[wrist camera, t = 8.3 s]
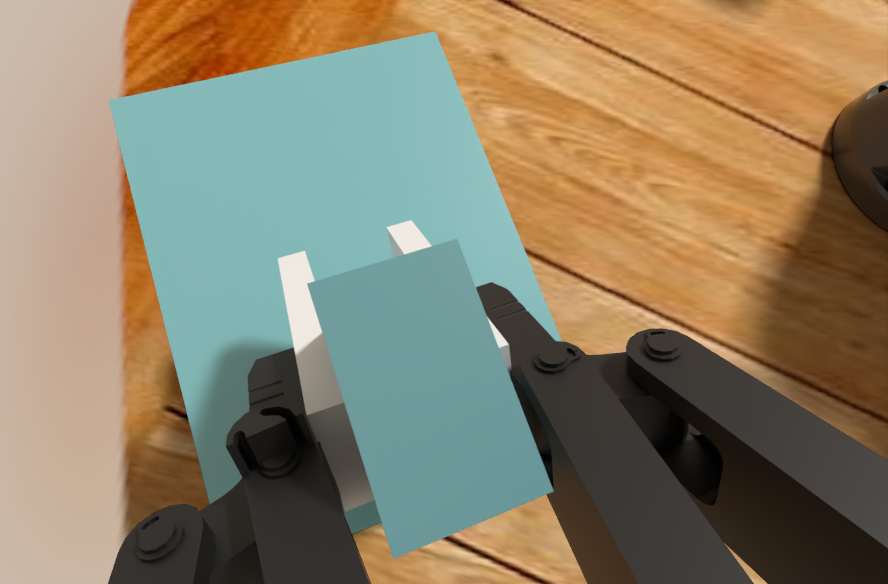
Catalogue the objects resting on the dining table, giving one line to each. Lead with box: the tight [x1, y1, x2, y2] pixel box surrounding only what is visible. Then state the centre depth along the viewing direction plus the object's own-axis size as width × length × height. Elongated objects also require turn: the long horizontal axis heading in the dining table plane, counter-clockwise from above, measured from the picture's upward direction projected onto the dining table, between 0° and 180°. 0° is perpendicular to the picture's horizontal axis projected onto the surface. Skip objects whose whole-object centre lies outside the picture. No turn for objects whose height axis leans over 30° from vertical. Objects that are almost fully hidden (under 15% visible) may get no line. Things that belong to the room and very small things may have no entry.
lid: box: [109, 32, 562, 559], centre depth 14 cm, size 16×12×11 cm
